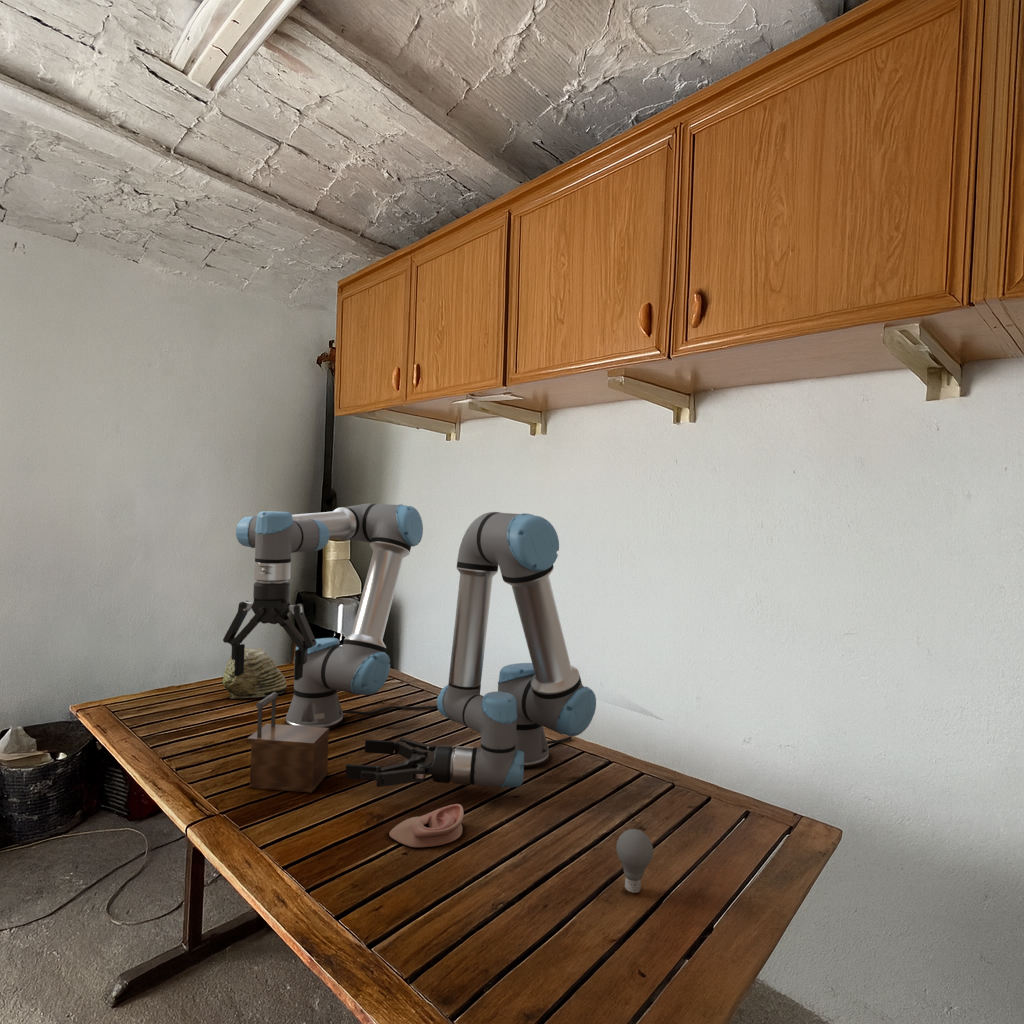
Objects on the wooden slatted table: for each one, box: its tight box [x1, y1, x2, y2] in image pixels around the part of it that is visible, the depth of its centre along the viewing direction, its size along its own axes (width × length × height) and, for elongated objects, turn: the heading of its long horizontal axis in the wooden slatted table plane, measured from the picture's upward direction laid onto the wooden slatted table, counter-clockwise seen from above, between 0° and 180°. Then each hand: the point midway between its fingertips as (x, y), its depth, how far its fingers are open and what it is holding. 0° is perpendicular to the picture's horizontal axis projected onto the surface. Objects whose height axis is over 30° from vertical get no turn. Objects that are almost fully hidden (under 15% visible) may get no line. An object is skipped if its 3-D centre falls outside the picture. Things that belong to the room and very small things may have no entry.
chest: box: [249, 731, 330, 794], centre depth 140 cm, size 14×9×10 cm, turn 86°
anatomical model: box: [388, 803, 465, 848], centre depth 121 cm, size 13×4×12 cm
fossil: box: [222, 646, 288, 699], centre depth 198 cm, size 9×18×15 cm, turn 132°
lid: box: [246, 692, 330, 747], centre depth 140 cm, size 15×9×9 cm, turn 86°
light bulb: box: [615, 828, 654, 894], centre depth 106 cm, size 6×6×10 cm
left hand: (268, 676), depth 140 cm, fingers open, 13 cm apart
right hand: (356, 757), depth 138 cm, fingers open, 13 cm apart
